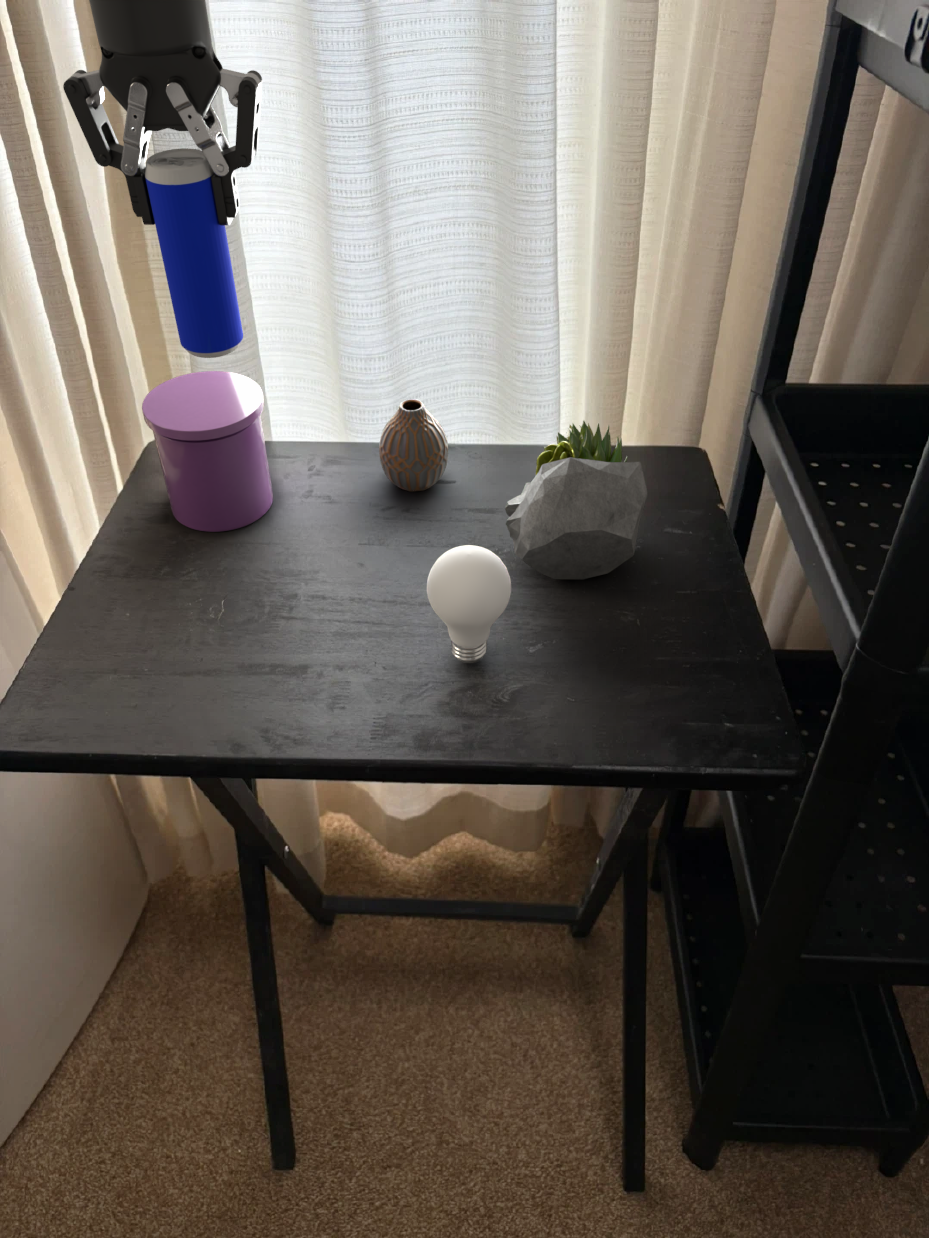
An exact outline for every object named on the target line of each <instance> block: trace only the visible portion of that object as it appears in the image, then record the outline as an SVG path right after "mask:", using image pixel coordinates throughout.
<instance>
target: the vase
mask: <svg viewBox="0 0 929 1238" xmlns="http://www.w3.org/2000/svg"><path fill="white" fill-rule="evenodd" d="M398 405H399V406H398V407H397V409H396V411H395V413H394V414H393V415H392V416H391V417H390V419H389V420H388V421H387V422H386V424H385V425H384V427H383V429H382V431H381V435H380V439H379V444H378V454H379V462H380V465H381V469H382V470H383V472H384V474H385V476H386V477H387V479H388V480H389V481H390V483H392V484H393V485H395V486H396V487H398V488H399V489H402V490H404V491H408V492H421V491H426V490H427V489H430V488H431V487H433V486H434V485H435V484H436V483H438V481H440V479H441V478H442V477H443V475H444V473H445V471H446V468H447V465H448V461H449V443H448V439H447V436H446V432H445V430H444V428H443V427H442V424H441V423H440V422H439V421H438V419H437V418H436V417H435V416H433V414H431V412H429V410H428V409H427V408H426V405H425V404H424V402H423V401H421V400H420V399H413V398H410V399H409V398H408V399H405V400H403V401H401V402H400V403H399V404H398Z"/></svg>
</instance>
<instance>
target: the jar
mask: <svg viewBox="0 0 929 1238" xmlns="http://www.w3.org/2000/svg"><path fill="white" fill-rule="evenodd" d="M264 408H265V399H264V393H263V389H262V388H261V386H260V385H259V384H258V383H257V382H256V381H255V380H254V379H252V378H250V377H248V376H246V375H243V374H239V373H236V372H231V371H224V370H204V371H195V372H190V373H185V374H182V375H178V376H175V377H172V378H170V379H168V380H165V381H163V382H162V383H159V384H158V385H156V386H155V387H153V388H152V389H151V390H150V391H149V392H148V393H147V394H146V395H145V397H144V398H143V401H142V403H141V411H142V416H143V420H144V422H145V424H146V426H147V427H148V428H149V429H150V430H151V431H152V434H153V438H154V442H155V446H156V450H157V454H158V455H157V456H158V458H159V462H160V467H161V471H162V475H163V479H164V485H165V488H166V493H167V497H168V501H169V505H170V510H171V514H172V515H173V517H174V518H175V520H176V521H178V522H179V523H180V524H181V525H183V526H184V527H187V528H189V529H192V530H195V531H200V532H211V533H215V532H217V533H219V532H228V531H233V530H236V529H237V530H238V529H240V528H243V527H246V526H248V525H251V524H252V523H254V522H256V521H258V520H259V519H262V517H263V516H264V515H265V514H267V513H268V511H269V510H270V508H271V506H272V504H273V503H274V502H273V501H274V492H273V485H272V479H271V472H270V467H269V460H268V454H267V447H266V441H265V433H264V429H263V428H264V427H263V420H262V413H263V411H264Z"/></svg>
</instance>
